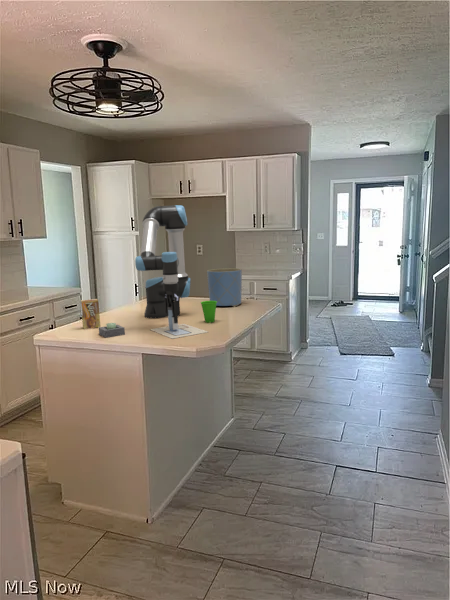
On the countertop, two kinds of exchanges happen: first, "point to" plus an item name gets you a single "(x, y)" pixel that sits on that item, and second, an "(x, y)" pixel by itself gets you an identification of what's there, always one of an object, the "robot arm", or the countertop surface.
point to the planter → (225, 286)
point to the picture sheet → (179, 331)
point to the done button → (111, 325)
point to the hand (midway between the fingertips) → (173, 328)
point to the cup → (209, 310)
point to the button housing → (111, 331)
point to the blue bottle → (170, 319)
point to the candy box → (90, 313)
